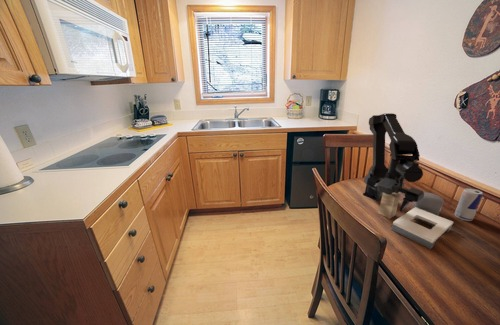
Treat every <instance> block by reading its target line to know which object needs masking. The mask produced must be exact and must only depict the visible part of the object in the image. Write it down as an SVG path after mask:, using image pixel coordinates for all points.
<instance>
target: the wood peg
mask: <svg viewBox="0 0 500 325" xmlns="http://www.w3.org/2000/svg"><path fill="white" fill-rule="evenodd" d="M401 195H402V193H400V192H398V193H392V194H390V195H387V194H385V193H383V194H382V197H381V199H380V203H379V204H380V205H379V209H378V213H377V214H379V215H380V216H383V217H385V218H387V219H391V218H394V217H395V216H396V214H397V210H398V207H399V204H400V203H399V202H400V200H401Z"/></svg>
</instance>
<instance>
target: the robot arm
mask: <svg viewBox="0 0 500 325" xmlns="http://www.w3.org/2000/svg"><path fill="white" fill-rule="evenodd" d="M368 126H369V130H370V132H371V134H372V136H373V138H372V140H373V142H372V165H371V166H370V168H369V169H368V171H367V172H368V173H367V174H366V175H365V176H364V178H363V182H364V183H365V191H364V192H363V193H362V195H363V196H366V197H368V198H371V199H373V200H374V201H376V202H379V200H380V198H382V195H383V193H385V194H387V195H390V194H392V193H400V194H404V197H403V198H402V202H401V203H402V204H401V206H400V207H399V208H400V209H399V211H400V212H402V211H403V210H405V208H406V207H407V206H408V205H409V204H410V203H415V202H418V201H419V200H421V199H422V198H423V197H424V192H425V191H424V190H421V189H419V188H418V189H417V188H414V187H410V188H409V189H408V188H405V187H404V186H405V181H406V182H409V183H417V182H418V181H419V180H421V179H422V178H423V176H424V172H423V169H422V168H421V167H420V166H419V165H420V163H419V161H420V157H421V155H420V152H419V148H418V144H417V141H416V140H415V139H414V138H413V137H412V136H411V135H409V134H407V133H405V131H404V129H403V128H402V126H401V124H400V122H399V120H398V119H397V114H395V113H394V112H393V113H391V112H389V113H382V114H381V113H380V114H378V115H377V114H376V115H371V116H370V118H369V119H368ZM386 133H387V135H388V138H389V139H390V143H389V144H388V146H389V147H388V148H389V151H390V154H389V157H390V162H389V165H388V167H387V166H386V164H385V163H386V162H385V159H386ZM417 161H418V162H417Z"/></svg>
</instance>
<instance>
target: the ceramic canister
mask: <svg viewBox="0 0 500 325" xmlns="http://www.w3.org/2000/svg"><path fill="white" fill-rule="evenodd" d="M423 192H424V197H423V198H422V199H421V200H419V201H418V202H414V206H413V208H415V207H416V208H419V209H422V210H424V211H427V212H429V213H432V214H434V215H437V216H440V213H441V210H442V207H443V204H444V201H445V200H444V198H443V197H442V196H440V195H438V194H435V193H432V192H428V191H427V192H425V191H423Z"/></svg>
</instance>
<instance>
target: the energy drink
mask: <svg viewBox="0 0 500 325" xmlns="http://www.w3.org/2000/svg"><path fill="white" fill-rule="evenodd" d="M461 192H462V193H461V196H460V198H459V201H458V203H457V206H456V209H455V211H454V216H455V217H456V218H458V219H460V220H462V221H464V222H465V221H466V222H472V221H473V220H474V218H475V215H476V214H477V211H478V208H479V206H480V203H481V201H482V199H483V197H484V195H483V194H484V193H483V192H482V191H481V190H479V189H476V188H470V187H465V188H464V189H463V190H462V191H461Z"/></svg>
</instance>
